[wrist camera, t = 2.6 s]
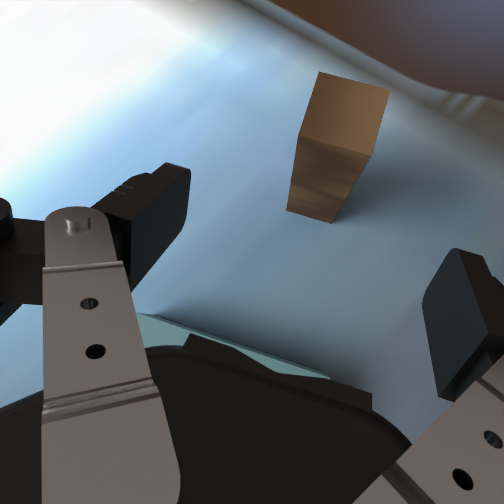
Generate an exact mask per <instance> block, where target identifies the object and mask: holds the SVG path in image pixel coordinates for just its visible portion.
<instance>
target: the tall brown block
mask: <svg viewBox="0 0 504 504" xmlns="http://www.w3.org/2000/svg"><path fill="white" fill-rule="evenodd" d="M389 93H390V90H388V89H384V88H380V87H376V86H373V85H369V84H365V83H361V82H357V81H353V80H350V79H346V78H342V77H338V76H334V75H330V74H326V73H323V72H319V73H318V76H317V80H316V83H315V86H314V89H313V92H312V95H311V98H310V101H309V104H308V107H307V110H306V113H305V116H304V119H303V122H302V125H301V129H300V132H299V135H298V140H297V146H296V153H295V159H294V165H293V171H292V178H291V184H290V190H289V196H288V203H287V209H286V210H287V211H290V212H293V213H297V214H300V215H304V216H307V217H310V218H314V219H317V220H320V221H324V222H327V223H330V224H331V223H332V221H333V219H334V218H335V216H336V214H337V213H338V211H339V209H340V208H341V206H342V204H343V203H344V201H345V199H346V198H347V196H348V194H349V193H350V191H351V189H352V188H353V186H354V184H355V183H356V181H357V179H358V178H359V176H360V174H361V173H362V171H363V169H364V168H365V166H366V164H367V163H368V161H369V159H370V158H371V156H372V152H373V149H374V145H375V142H376V138H377V135H378V132H379V128H380V125H381V121H382V118H383V114H384V111H385V107H386V104H387V100H388V97H389Z"/></svg>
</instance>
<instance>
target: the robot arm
mask: <svg viewBox="0 0 504 504" xmlns="http://www.w3.org/2000/svg"><path fill="white" fill-rule="evenodd" d="M190 182H191V171H190V169H188V168H184V167H181V166H177V165H174V164H171V163H167V162H166V163H164V164H163V165H162V166H160V167H159V168H158V169H157V170H155V171H154V172H153V173H152V174H150V173H143V174H139V175H136V176H133V177H131V178H129V179H128V180H127V181H125V182H124V183H123V184H122V186H121V185H120V186H119V187H117V188H116V189H115V190H114V192H113V191H112V192H110V193H109V194H108V195H106V196H105V197H104V198H102V199H101V200H100V201H98V202H97V203H96V204H94V205H93V206H92V207H90V208H89V207H81V206H74V207H66V208H61V209H58V210H56V211H54V212H52V213H50V214H49V215H48V216H47V217H46V219H45V221H38V220H29V219H19V218H13V215H12V209H11V205H10V203H9V202H8V201H6V200H5V199H3V198H0V326H1V325H2V324H3V323H4V322H5V321H6V320H7V319H8V318H9V317H10V316H11V315H12V314H13V313H14V312H15V311H16V310H17V309H18V308H19V307H20V306H21V305H22V304H33V305H43V373H44V389H43V390H41V391H39V392H36V393H34V394H32V395H29V396H27V397H25V398H23V399H20V400H18V401H16V402H13V403H11V404H9V405H6V406H4V407H2V408H0V504H504V286H503V285H502V284H501V283H500V282H499V281H498V280H497V278H496V277H492V275H491V273H490V271H489V269H488V266H487V264H486V262H485V260H484V258H483V256H481V255H478V254H474V253H471V252H467V251H464V250H461V249H457V248H453V249H452V250H450V251H449V253H448V254H447V256H446V257H445V259H444V261H443V262H442V264H441V266H440V267H439V269H438V271H437V272H436V274H435V276H434V277H433V279H432V281H431V282H430V284H429V286H428V287H427V289H426V291H425V294H424V297H423V302H422V310H423V315H424V321H425V326H426V332H427V338H428V343H429V349H430V354H431V360H432V365H433V371H434V376H435V382H436V388H437V393H438V397H440V398H443V399H446V400H449V401H452V402H454V403H453V404H452V405H451V406H450V407H449V408H448V409H447V410H446V411H445V412H444V413H443V414H442V415H441V416H440V417H439V418H438V419H437V420H436V421H435V422H434V423H433V424H432V425H431V426H430V427H429V428H428V429H427V430H426V431H425V432H424V433H423V435H422V436H421V437H420V438H419V439H418V440H417V441H416V442H415V443H414V444H413V445H412V443H411V442H410V441H409V440H408V439H407V438H406V437H405V436H404V435H403V434H402V433H401V432H400V431H399V430H398V429H397V428H396V427H395V426H394V425H393V424H391V423H390V422H389V421H388V420H386V419H385V418H384V417H382V416H381V415H379V414H378V413H376V412H375V411H373V410H372V394H371V393H368V392H365V391H362V390H359V389H356V388H353V387H350V386H347V385H344V384H341V383H338V382H335V381H332V380H330V379H327V378H319V377H310V376H302V375H293V374H284V373H278V372H275V371H273V370H271V369H270V368H268V367H266V366H264V365H263V364H261V363H259V362H258V361H256V360H254V359H252V358H251V357H249V356H247V355H246V354H244V353H242V352H241V351H239V350H237V349H235V348H234V347H231V346H228V345H225V344H222V343H219V342H216V341H213V340H210V339H207V338H204V337H201V336H198V335H195V334H192V333H190V334H189V336H188V338H187V339H186V341H185V343H184V345H183V346H181V345H161V346H152V347H147V348H144V344H143V340H142V336H141V332H140V328H139V324H138V320H137V316H136V312H135V308H134V304H133V300H132V296H131V292H132V291H133V290H134V288H135V287H136V286H137V285H138V284H139V282H140V281H141V280H142V279H143V277H144V276H145V275H146V274H147V272H148V271H149V270H150V269H151V268H152V266H153V265H154V264H155V263H156V261H157V260H158V259H159V258H160V256H161V255H162V254H163V253H164V251H165V250H166V249H167V248H168V247H169V245H170V244H171V243H172V242H173V240H174V239H175V238H176V237H177V235H178V234H179V233H180V232H181V230H182V228H183V226H184V223H185V220H186V216H187V208H188V199H189V191H190Z"/></svg>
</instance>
